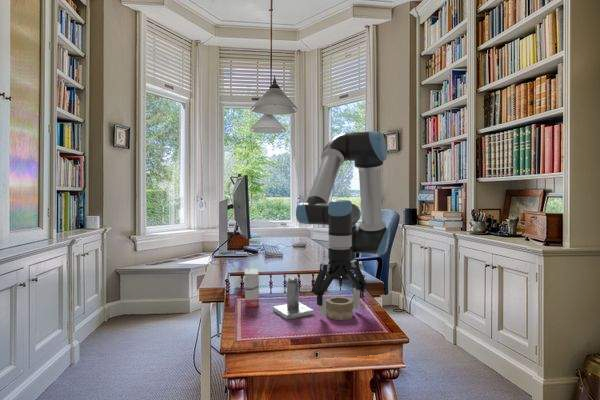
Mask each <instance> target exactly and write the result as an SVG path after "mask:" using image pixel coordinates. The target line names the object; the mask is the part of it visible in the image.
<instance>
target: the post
mask: <svg viewBox="0 0 600 400" xmlns="http://www.w3.org/2000/svg"><path fill="white" fill-rule="evenodd" d="M272 311H273V312H274V313H275V314H277V315H278V316H280V317H282V318H283V319H285V321H287V320H292V319H297V318H302V317H303V318H304V317H308V316H313V315H315V314H314V313H315V312H314V309H313V308H310V307H308V306H307V305H305V304H303V302H300V281H299V280H298V278H297V277H289V278H288V279H287V281H286V303H284V304H279V305H275V306H272Z"/></svg>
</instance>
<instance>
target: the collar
mask: <svg viewBox="0 0 600 400" xmlns="http://www.w3.org/2000/svg"><path fill="white" fill-rule="evenodd" d="M325 317H327V318H329V319H331V320H339V321H345V320H346V321H347V320H349V319H350V320H351V319H352V318H353V317H354V308H353V298H351V297H347V296H339V295H338V296H331V297H327V299H325Z"/></svg>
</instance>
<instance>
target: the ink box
mask: <svg viewBox="0 0 600 400" xmlns="http://www.w3.org/2000/svg"><path fill="white" fill-rule="evenodd" d="M259 278H260V277H259V268H245V269H244V305H245V308H257V307H258V306H259V307H260V305H259V303H260V302H259V301H260V300H259V299H260V290H259V289H260V285H259V284H260V279H259Z"/></svg>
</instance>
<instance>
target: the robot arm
mask: <svg viewBox="0 0 600 400" xmlns="http://www.w3.org/2000/svg"><path fill="white" fill-rule="evenodd" d="M387 151H388V148H387V142H386V139H385V136H384V134H383V133H382V132H380V131H372V130H371V131H353V132H343V133H340V134H338V135H336V136H334V137H333V138H332V139H331V140H330V141H328V143H327V144H326V145H325V146H324V148H323V150H322V152H321V155H320V159H321V162H320V164H319V167H318V170H317V173H316V176H315V179H314V181H313V183H312V185H311V189H310V192H309V194H308V197H307V199H306V202H300V203H299V202H298V204H297V205H296V208H295V218H296V220H297V222H298V223H300V224H303V225H320V226H321V225H323V226H325V225H326V226H328V247H329V248H328V252H327V253H328V254H327V256H328V262H327V264H325V263H320V264H319V270H318V274H317V276H316V278H315V281H314V283H313V286H312V288H311V290H310V292H311V293H312V294H313V295H316V305H317V306H318V315H320V316H322V317H326V295H325V293H326V291H327V290H328V288H329V287H330V285H331V284H332V282H333V281H334V280H335V279H344V280H345V279H348V280H349V282H350V283H351V284H352V285H353V286H354V288H352V300H353V309H356V310H357V311H359V310H360V309H361V307H360V303H361V302H360V301H361V300H360V299H361V298H362V291H363V290H364V289H365V288H366V287H367V282H366V280H365V278H364V275H363V273H362V270H361V269H360V261H358V260H357V258H356V257H357V256H356V254H367V255H368V254H371V255H375V256H376V255H385V254H386V253H387V250H388V248H389V243H390V238H391V237H390V236H391V230H390V228H388V227H387V226H386V225H387V224H386V222H385V221H383V216H382V215H383V212H382V195H381V193H382V191H381V187H382V186H381V172H380V171H381V167H382V166H383V165H384V162H385V161H386V160H387V158H388V152H387ZM352 161H353V162H354V166H355V168H357V169H358V181H359V195H360V207H359V206H358V205H357V204H354V203H352V201H351V200H349V199H331V200H330V197H331V194H332V192H333V191H332V190H333V188H334V185H335V182H336V179H337V175H338V172H339V170H340V167H342V166H343V165H344V163H345V162H352ZM360 208H361V209H360ZM360 219H361V221H360V222H359V220H360ZM358 222H359V223H358ZM357 223H358V226H357ZM328 270H329V271H328ZM350 270H353V271H354V273H355V275H356V277H354V275H353V273H352V272H351V271H350ZM327 271H328V273H327ZM326 273H327V275H326ZM340 276H342V278H340Z"/></svg>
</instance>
